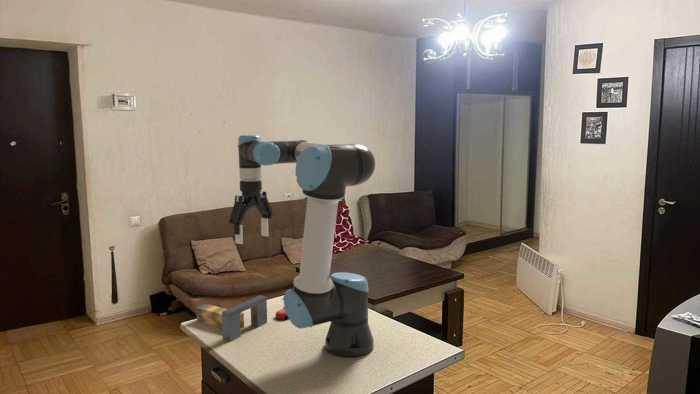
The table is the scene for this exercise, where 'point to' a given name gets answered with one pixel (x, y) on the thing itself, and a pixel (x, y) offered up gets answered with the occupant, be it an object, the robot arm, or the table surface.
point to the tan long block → (213, 315)
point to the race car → (282, 314)
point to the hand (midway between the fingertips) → (252, 239)
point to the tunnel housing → (233, 316)
